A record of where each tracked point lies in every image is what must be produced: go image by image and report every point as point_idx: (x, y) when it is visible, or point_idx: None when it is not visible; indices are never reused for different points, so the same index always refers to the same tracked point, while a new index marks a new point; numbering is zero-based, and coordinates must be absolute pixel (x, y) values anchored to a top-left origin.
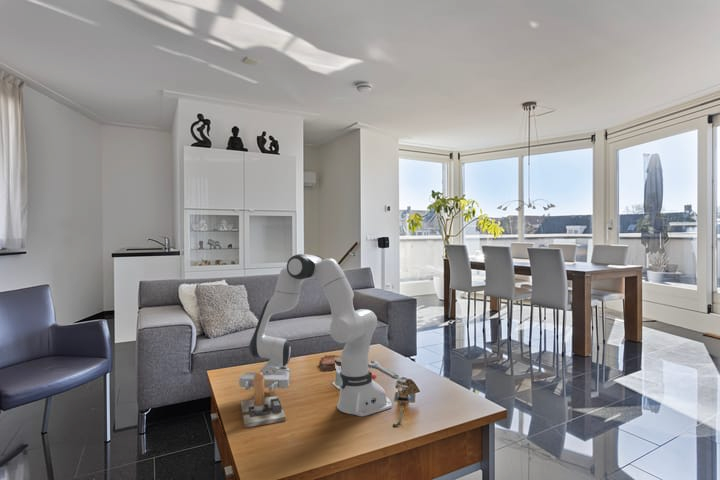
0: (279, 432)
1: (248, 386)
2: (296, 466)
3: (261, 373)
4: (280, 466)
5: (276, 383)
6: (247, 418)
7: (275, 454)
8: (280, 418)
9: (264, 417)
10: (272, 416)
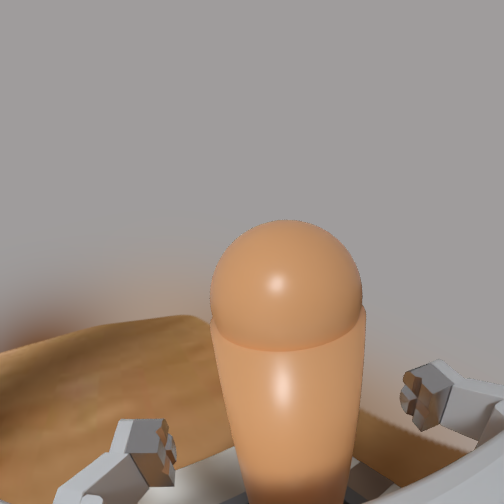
0: None
1: (405, 374)
2: (88, 335)
3: (233, 241)
4: (118, 332)
5: (75, 477)
6: None
7: (131, 352)
8: None
9: (220, 480)
10: (175, 495)
